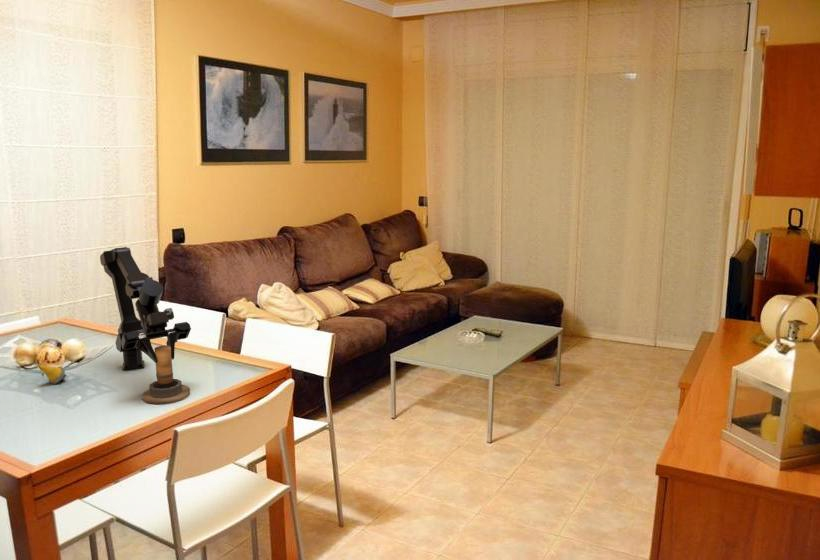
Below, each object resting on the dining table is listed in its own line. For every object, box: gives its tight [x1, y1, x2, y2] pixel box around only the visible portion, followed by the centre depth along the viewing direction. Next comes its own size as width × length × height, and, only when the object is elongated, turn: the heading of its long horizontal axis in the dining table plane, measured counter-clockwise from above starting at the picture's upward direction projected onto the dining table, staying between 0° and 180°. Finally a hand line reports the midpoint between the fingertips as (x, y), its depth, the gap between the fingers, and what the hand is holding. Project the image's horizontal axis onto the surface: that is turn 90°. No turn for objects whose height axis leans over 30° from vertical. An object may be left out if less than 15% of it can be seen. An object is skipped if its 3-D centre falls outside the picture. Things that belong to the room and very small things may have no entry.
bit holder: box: [141, 378, 191, 405], centre depth 197 cm, size 13×13×4 cm
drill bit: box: [37, 364, 68, 385], centre depth 206 cm, size 5×5×10 cm
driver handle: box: [153, 345, 174, 384], centre depth 195 cm, size 4×4×10 cm
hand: (165, 360), depth 194 cm, fingers closed on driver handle, 4 cm apart
